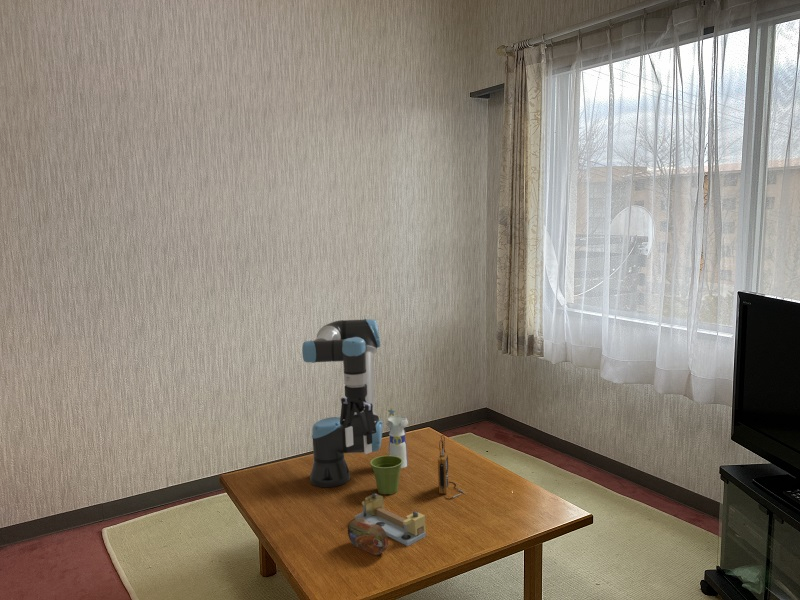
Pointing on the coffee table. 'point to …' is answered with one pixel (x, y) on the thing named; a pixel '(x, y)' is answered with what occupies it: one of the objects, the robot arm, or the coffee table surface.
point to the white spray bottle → (397, 437)
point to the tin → (367, 536)
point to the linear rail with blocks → (398, 525)
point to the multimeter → (444, 472)
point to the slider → (372, 504)
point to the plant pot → (387, 473)
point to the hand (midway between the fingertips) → (358, 449)
